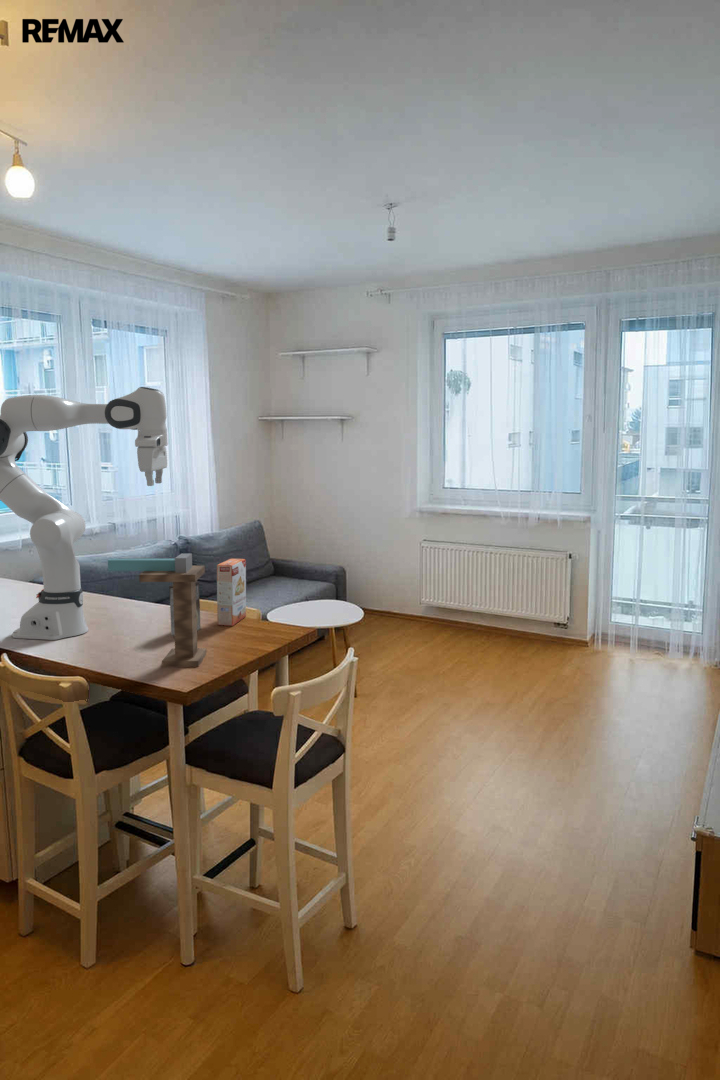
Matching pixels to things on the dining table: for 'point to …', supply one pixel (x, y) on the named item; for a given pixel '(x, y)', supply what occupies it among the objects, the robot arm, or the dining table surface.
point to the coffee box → (196, 608)
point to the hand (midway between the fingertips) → (154, 484)
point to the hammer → (152, 564)
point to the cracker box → (231, 591)
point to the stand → (181, 615)
